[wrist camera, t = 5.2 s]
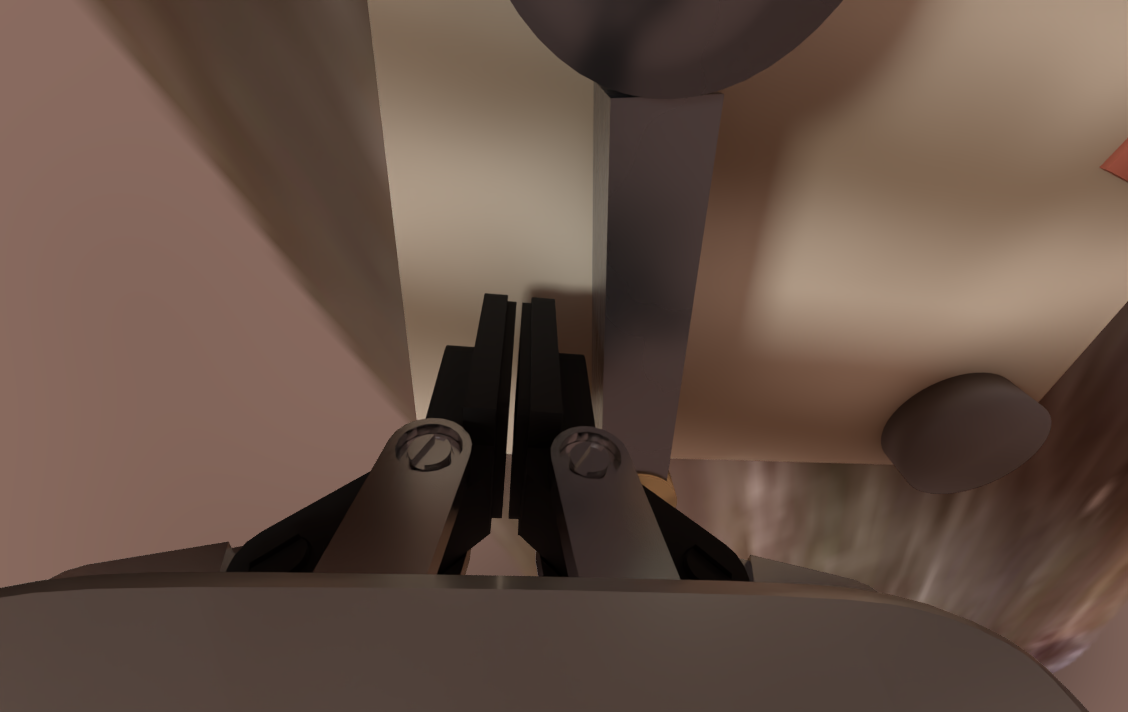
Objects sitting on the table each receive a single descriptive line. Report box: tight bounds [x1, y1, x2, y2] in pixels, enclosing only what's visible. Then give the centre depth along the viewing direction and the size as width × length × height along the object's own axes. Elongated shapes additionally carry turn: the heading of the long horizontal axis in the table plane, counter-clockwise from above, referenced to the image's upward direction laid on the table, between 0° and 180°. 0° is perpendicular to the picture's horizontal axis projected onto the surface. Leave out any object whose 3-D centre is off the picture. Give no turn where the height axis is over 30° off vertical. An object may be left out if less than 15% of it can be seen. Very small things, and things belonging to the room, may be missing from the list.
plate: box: [367, 0, 1128, 494], centre depth 10 cm, size 20×19×3 cm
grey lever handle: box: [510, 0, 843, 508], centre depth 9 cm, size 15×5×3 cm, turn 2°
